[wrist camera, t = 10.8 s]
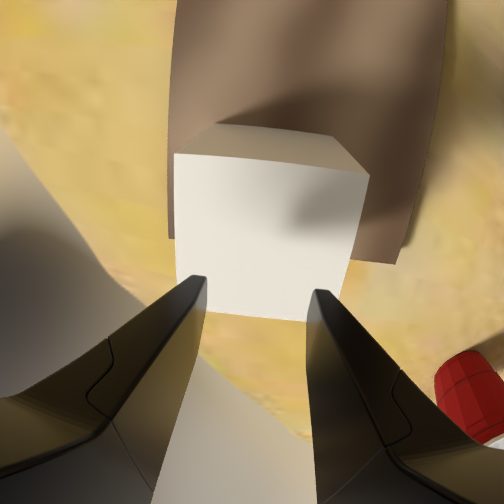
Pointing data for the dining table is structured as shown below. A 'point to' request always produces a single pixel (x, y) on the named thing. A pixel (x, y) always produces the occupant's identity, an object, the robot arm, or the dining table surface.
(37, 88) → the dining table surface
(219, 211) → the off-white cube
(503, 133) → the dining table surface
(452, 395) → the plastic cup
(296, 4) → the board
